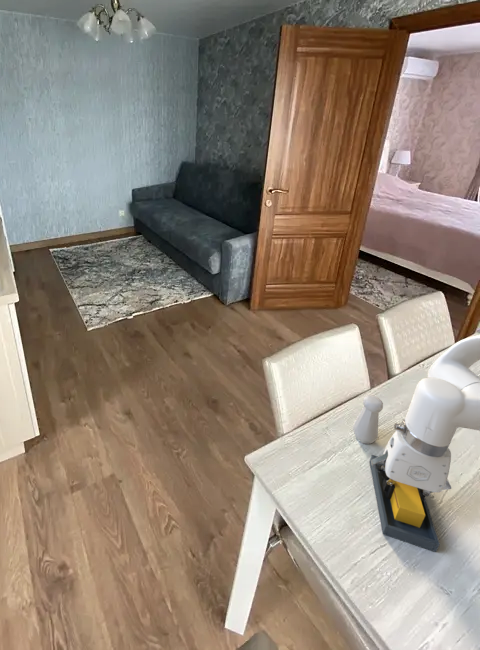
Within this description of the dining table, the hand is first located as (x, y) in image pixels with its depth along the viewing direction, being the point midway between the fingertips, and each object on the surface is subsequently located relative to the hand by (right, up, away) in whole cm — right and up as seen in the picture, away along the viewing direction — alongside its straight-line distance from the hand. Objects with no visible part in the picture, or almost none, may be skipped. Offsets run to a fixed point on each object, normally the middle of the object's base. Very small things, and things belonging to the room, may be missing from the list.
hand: (401, 495), depth 74 cm
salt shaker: (0, +4, +16) cm, 16 cm away
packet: (0, 0, 0) cm, 0 cm away
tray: (0, -2, +1) cm, 2 cm away
